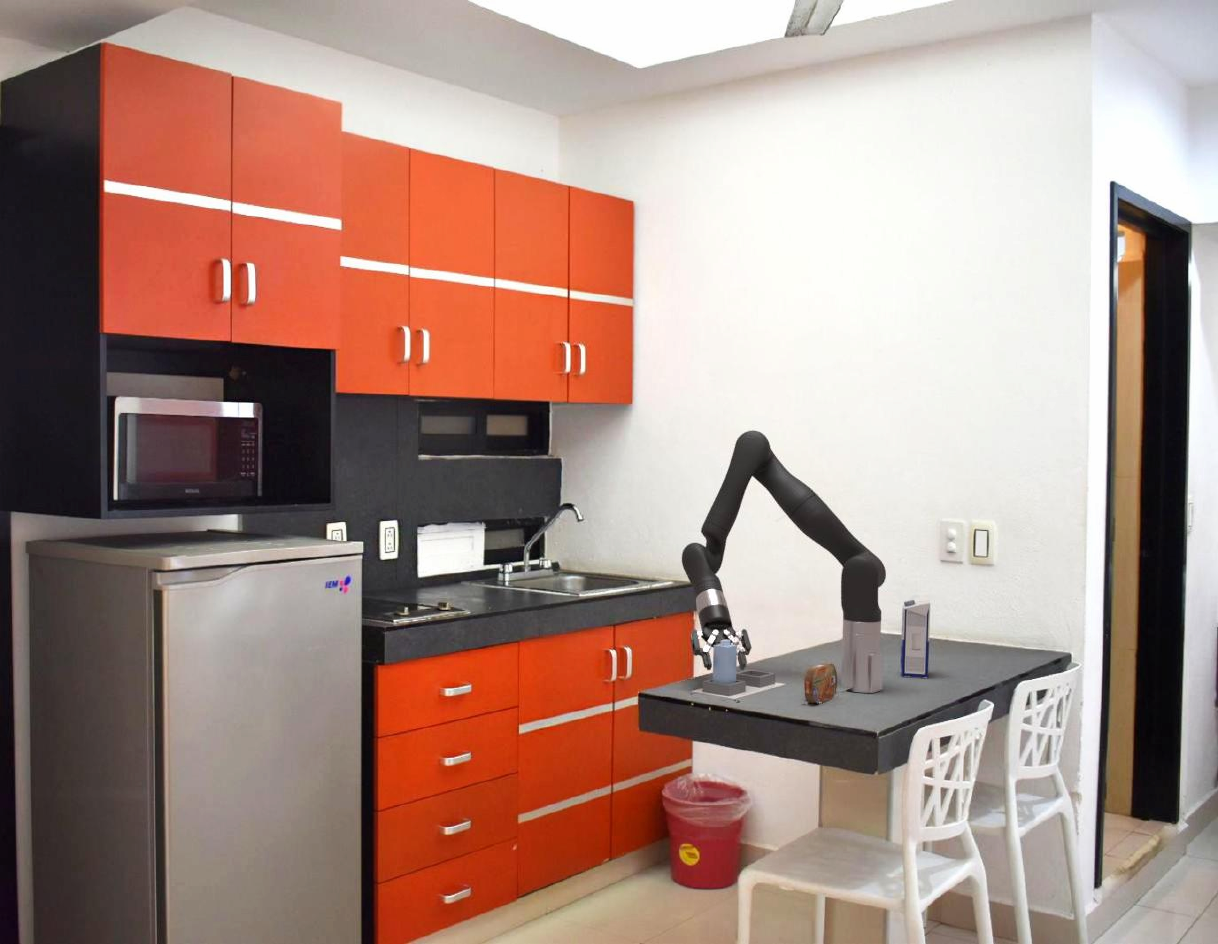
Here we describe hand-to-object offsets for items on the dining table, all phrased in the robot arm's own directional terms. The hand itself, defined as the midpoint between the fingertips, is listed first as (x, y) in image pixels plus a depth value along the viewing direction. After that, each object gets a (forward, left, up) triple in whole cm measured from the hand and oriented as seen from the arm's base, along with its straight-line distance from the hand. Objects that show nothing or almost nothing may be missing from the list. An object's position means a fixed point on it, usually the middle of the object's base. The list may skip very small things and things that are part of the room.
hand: (726, 668), depth 282 cm
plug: (+1, -1, -6) cm, 6 cm away
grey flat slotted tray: (+1, -8, -7) cm, 11 cm away
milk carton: (-21, -60, -7) cm, 64 cm away
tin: (-18, -13, -7) cm, 23 cm away
